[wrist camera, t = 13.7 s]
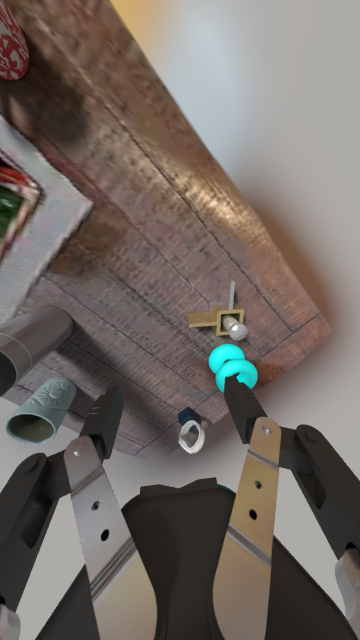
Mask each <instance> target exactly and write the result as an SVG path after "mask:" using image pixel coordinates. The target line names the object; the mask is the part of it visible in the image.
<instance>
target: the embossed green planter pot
mask: <svg viewBox="0 0 360 640" xmlns="http://www.w3.org/2000/svg"><path fill="white" fill-rule="evenodd" d="M76 393H77V388H76V386H75V384H74V383H73V382H72V381H70V380H69V379H67V378H64V377H53V378H51V379H49V380H47V381H46V382H45V383H44V384H43V385H42V387H40V388H39V389H38V390H37V391H36V392H35V393H34V394H33V395H32V397H30V398H29V399H28V400H27V401H26V402H25V403H24V404H23V405H22V406H21V407H20V408H19V409H17V410H16V411H15V413H13V414H12V415H11V416H10V417H9V418H8V419H7V421H6V423H5V429H6V431H7V433H8V434H9V435H10V436H11V437H12V438H14V439H15V440H17V441H19V442H22V443H26V444H33V445H36V444H44V443H47V442H48V441H50V440H52V439H53V437H54V436H55V434H56V432H57V430H58V428H59V426H60V424H61V423H62V421H63V419H64V417H65V415H66V413H67V410H68V409H69V407H70V405H71V403H72V401H73V399H74V397H75V395H76Z"/></svg>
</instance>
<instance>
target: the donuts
mask: <svg viewBox="0 0 360 640" xmlns="http://www.w3.org/2000/svg"><path fill="white" fill-rule="evenodd" d="M228 359H231V360H229V361H227V362H225V361H226V360H228ZM224 362H225V363H224ZM223 363H224V364H223ZM209 366H210V368H211V370H212V371H213V372H214V373H215V374H216V384H217V386H218V388H219V389H220V390H221V391H222V392H223V393H224V383H225V377H227V376H232V375H234V374H236V373H238V372H240V374H239V375H238V376H237V379H238V381H239V383H240V382H244V383H245V384H246V385H247V386H249V388H250V389H252V388H253V387H254V385H255V384H256V381H257V376H258V374H257V370H256V368H255V366H254V365H253V364H252V363H251V362H249V361H247V360H245V356H244V353H243V351H242V350H241V349H240V348H239V347H238V346H236V345H233V344H224V345H221V346H218V347H217V348H215V349H214V350H213V351H212V353H211V355H210V357H209Z"/></svg>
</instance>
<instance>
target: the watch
mask: <svg viewBox="0 0 360 640" xmlns="http://www.w3.org/2000/svg"><path fill="white" fill-rule="evenodd" d="M178 415H179V423H180V424H181V425H183V428H182V430H181V432H180V435H179V441H178V442H179V444H180V445H181V446H182V447H183V448H184V449H185V450H186V451H187V452H188V453H190V454H192V453H196V452H198V451H199V450H200V449H201V447H202V446H203V443H204V439H205V433H204V429H203V427H202V426H201V425H200V424H201V421H200V416H199V414H197V413H196V412H195V411H193V410H192V409H191V408H189V407H187V408H186V409H184V410H183V411H182V412H180V413H179V414H178ZM196 427H197V428H198V430H199V437H198V440H197V442H196V444H195V445H194V446H193V445H192V444H191V443H190V442H189V441H188V440H187V439H186V435H187V432H188V430H190V431H191V430H193V429H194V428H196Z"/></svg>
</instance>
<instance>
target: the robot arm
mask: <svg viewBox="0 0 360 640" xmlns="http://www.w3.org/2000/svg"><path fill="white" fill-rule="evenodd" d="M72 332H73V322H72V320H71V318H70V317H69V315H68V314H67V313H66V312H65V311H63V310H62V309H60V308H58V307H54V306H42V307H39V308H37V309H35V310H32V311H30V312H28V313H25V314H23V315H21V316H19V317H16V318H14V319H12V320H9V321H7V322H5V323H3V324H0V397H1V396H2V395H3V394H5V393H6V392H7V391H8V390H9V389H10V388H11V387H13V386H14V385H15V384H16V383H17V382H18V381H19V380H21V379H22V378H23V377H24V376H25V375H26V374H27V373H28V372H30V371H31V370H32V369H33V368H34V367H35V366H36V365H38V364H39V363H40V362H41V361H42V360H43V359H44V358H45V357H47V356H48V355H49V354H50V353H51V352H52V351H53V350H55V349H56V348H57V347H58V346H59V345H60V344H61V343H63V342H64V341H65V340H66V339H67V338H68V337H69V336H70V335H71V334H72ZM224 397H225V401H226V403H227V406H228V408H229V411H230V413H231V415H232V418H233V420H234V422H235V425H236V428H237V430H238V433H239V435H240V438H241V440H242V443H243V444H249V449H248V451H247V455H246V459H245V462H244V466H243V470H242V474H241V479H240V482H239V486H238V491H237V494H236V493H235V492H233V491H232V490H230V489H229V488H227V487H225V486H222V485H219V484H217V480H216V477H215V478H207V479H199V480H196V481H194V482H192V483H190V484H188V485H186V486H184V487H181V488H174V487H169V486H165V485H160V484H159V485H151V486H144V487H141V488H140V494H139V495H137V496H135V497H134V498H132V499H131V500H130V501H129V502H127V503H126V504H125V506H123V508H122V509H121V510H120V507H119V505H118V502H117V500H116V497H115V495H114V492H113V490H112V488H111V485H110V483H109V480H108V478H107V475H106V473H105V470H104V468H103V466H102V464H103V460H104V459H110V456H111V453H112V449H113V445H114V441H115V438H116V434H117V430H118V427H119V423H120V419H121V415H122V412H123V398H122V393H121V389H120V386H113V387H108V389H107V391H106V394H105V395H101V396H100V397H99V398H98V399H97V400H96V401H95V403H94V405H93V407H92V409H91V411H90V414H89V416H88V418H87V420H86V422H85V424H84V426H83V428H82V430H81V433H80V435H79V437H78V438H76V439H74V440H73V441H72V442H71V443H70V444H69V445H68V446H67V448H66V449H65V450H63V451H61V452H59V453H57V454H54V455H51V456H49V457H47V456H46V455H45V454H44V453H36V454H33V455H31V456H30V457H28V458H27V459H25V460H24V461H23V462H22V463H21V464H20V465H19V466H18V467H17V468H16V470H15V471H14V473H13V475H12V476H11V477H10V479H9V480H8V482H7V484H6V485H5V487H4V488H3V490H2V492H1V493H0V640H18V639H19V634H20V619H19V617H18V615H17V614H16V613H15V612H16V609H17V607H18V604H19V602H20V599H21V596H22V594H23V591H24V589H25V586H26V583H27V581H28V578H29V576H30V573H31V571H32V568H33V565H34V563H35V560H36V558H37V555H38V553H39V550H40V547H41V545H42V542H43V539H44V537H45V534H46V532H47V529H48V527H49V524H50V521H51V519H52V516H53V514H54V511H55V508H56V506H57V503H58V501H59V498H61V497H62V496H65V495H67V494H69V493H70V494H71V500H72V504H73V509H74V513H75V518H76V523H77V527H78V531H79V536H80V540H81V545H82V549H83V554H84V559H85V564H84V566H83V568H82V569H81V571H80V572H79V573H78V575H77V577H76V578H75V580H74V581H73V583H72V584H71V586H70V587H69V589H68V590H67V592H66V593H65V595H64V596H63V598H62V600H61V601H60V602H59V604H58V606H57V607H56V609H55V610H54V612H53V613H52V615H51V616H50V618H49V619H48V621H47V622H46V624H45V626H44V627H43V628H42V630H41V632H40V633H39V634H38V636H37V637H36V639H35V640H360V481H359V479H358V478H357V477H356V476H355V475H354V474H353V472H352V471H351V470H350V468H349V467H348V466H347V465H346V463H345V462H344V461H343V459H342V458H341V457H340V456H339V454H338V453H337V452H336V451H335V449H334V448H333V447H332V446H331V444H330V443H329V442H328V441H327V440H326V438H325V437H324V436H323V434H322V433H321V432H319V431H318V430H317V429H315V428H313V427H311V426H309V425H299V426H298V427H297V429H296V430H294V429H289V428H285V427H281V426H279V425H278V424H277V423H276V422H275V421H273V420H272V419H270V418H268V417H267V415H266V413H265V412H264V410H263V409H262V407H261V405H260V404H259V402H258V401H257V399H256V398H255V396H254V394H253V392H252V391H251V389H250V388H249V386H247V385H246V384H245V383H244V382H240V383H239V381H238V379H237V377H236V376H227V377H225V383H224ZM279 467H282V468H286V469H290V470H291V471H292V473H293V475H294V477H295V479H296V481H297V483H298V485H299V487H300V489H301V490H302V492H303V494H304V496H305V498H306V500H307V502H308V504H309V506H310V508H311V509H312V512H313V513H314V515H315V517H316V519H317V521H318V523H319V525H320V527H321V529H322V531H323V533H324V534H325V536H326V538H327V540H328V542H329V544H330V546H331V548H332V550H333V551H334V553H335V556H336V557H337V559H338V562H337V563H336V566H335V576H336V581H337V584H338V587H339V589H340V591H341V594H342V597H343V600H344V604H345V610H346V618H345V616H344V615H343V613H342V612H341V611H340V609H339V608H338V607H337V605H336V604H335V603H334V601H333V600H332V599H331V598H330V597H329V596H328V595H327V593H325V591H324V590H323V589H322V588H321V587H320V586H319V585H318V583H316V581H315V580H314V579H313V578H312V577H311V576H310V575H309V574H308V572H307V571H306V570H305V569H304V568H303V567H302V566H301V565H300V563H299V562H298V561H297V560H296V559H295V558H294V557H293V556H292V555H291V553H290V552H289V551H288V550H287V549H286V548H285V547H284V546H283V545H282V544H281V542H280V541H279V540H278V539H277V538H276V537H275V536H274V535H273V532H274V521H275V510H276V498H277V487H278V476H279Z"/></svg>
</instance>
